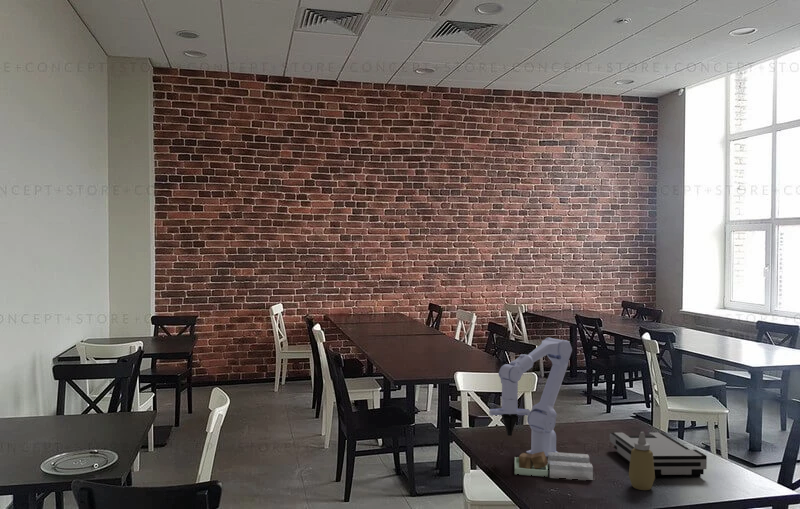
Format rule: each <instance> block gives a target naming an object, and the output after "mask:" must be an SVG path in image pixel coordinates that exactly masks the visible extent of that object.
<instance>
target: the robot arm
mask: <svg viewBox="0 0 800 509" xmlns="http://www.w3.org/2000/svg"><path fill="white" fill-rule="evenodd" d="M572 352H573V347H572V344H571V342H570V341H569V340H567V339H560V338H559V339H558V338H552V337H549V336H548V337H546V338H545V339H543V340H541V344H539V345H538V346H537V347H536V348H534V349H533V350H532V351H531V352H529V353H528V354H527V353H526V354H525V353H524V354H523V353H521V354H520V355H519V356H518V357H516V359H514V360H511V361H510V363H509V364H508V363H507V364H506V363H505V364H503V365H501V367H500V369H499V371H498V377H499V379H500V383H501V408H500V407H499V408H489V414H488V415H489V416H490V417H493V416H501V419H502V420H503V423H504V426H505V430H506V435H507V436H508V437H511V436H512V435H513V431H514V428H515V425H516V423H517V422H518V419H519V417H518V416H526V422H527V424H528V425H529V427H530V428H529V429H531V432H530V433H531V434H530V435H531V436H530V438H531V439H530V440H531V444H530V445H531V446H530V447H531V448H530V449H529V450H526V451H525V453H527V454H534V453H539V452H543V451H544V453H545V456H546V458H548V452H558V451H557V434H556V432H555V430H554V429H555V426H556V424H557V423H556V421H557V420H556V419H557V416H558V413H557V412H556V410H555V409H554V406H555V403H556V400H557V398H558V396H559V392H560V389H561V386H562V384H563V382H564V381H563V380H564V377H565V375H566V372H567V370H568V366H569V360H570V357H571V355H572ZM545 356H546V357H547V358H548V359H549V360H550V361H551V368H550V370H549V374H548V376H547V379H546V382H545V386H544V388H543V390H542V393H541V395H540V396H541V397H540V400H539V402H537V403H536V404H534V405H532V407H531V410H530V409H528V408H518V406H519V404H518V403H519V402H518V399H519V398H518V397H519V396H518V395H519V392H518V390H519V387H518V386H519V382H520V380H521V378H522V376H524V374H525V373H526V372H528V371H529V370H530V369H532V368H533V366H534V363H535V362H537V361H538V360H540V359H542V358H544V357H545Z"/></svg>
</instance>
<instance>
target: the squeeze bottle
mask: <svg viewBox="0 0 800 509" xmlns="http://www.w3.org/2000/svg"><path fill="white" fill-rule="evenodd" d="M638 436H639V439H638V442H635V443H634V447H635V448H633V449H632V450H631V458H630V464H629V467H628V468H629V469H628V478H629V480H630V483H631V484H630V485H631V486H632V487H633V488H634V489H636V490H640V491H650V490H651V489H652V487H653V485H654V481H655V480H656V477H655V472H654V461H653V452H652V451H651V450H649V449H650V444H649V443H647V442H646V439H645V436H646V434H645V432H644V431H640V433H639V435H638Z"/></svg>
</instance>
